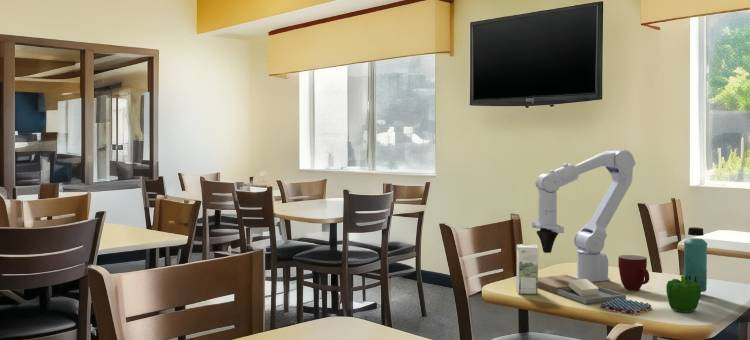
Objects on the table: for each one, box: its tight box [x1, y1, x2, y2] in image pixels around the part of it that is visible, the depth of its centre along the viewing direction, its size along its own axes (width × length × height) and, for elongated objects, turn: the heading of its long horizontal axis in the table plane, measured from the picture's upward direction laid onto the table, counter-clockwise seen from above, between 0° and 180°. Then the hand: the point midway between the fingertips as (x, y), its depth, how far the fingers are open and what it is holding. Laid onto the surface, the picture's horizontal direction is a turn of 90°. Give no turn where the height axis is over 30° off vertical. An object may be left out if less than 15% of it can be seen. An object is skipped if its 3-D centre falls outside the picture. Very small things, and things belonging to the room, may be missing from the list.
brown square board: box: [538, 274, 596, 295], centre depth 206 cm, size 14×14×2 cm
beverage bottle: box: [682, 226, 708, 293], centre depth 195 cm, size 6×7×20 cm
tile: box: [569, 279, 599, 296], centre depth 197 cm, size 6×6×2 cm
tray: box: [556, 284, 627, 305], centre depth 193 cm, size 14×13×2 cm
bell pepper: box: [665, 274, 702, 313], centre depth 178 cm, size 8×8×10 cm
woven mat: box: [599, 298, 653, 316], centre depth 180 cm, size 10×11×2 cm
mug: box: [617, 254, 650, 292], centre depth 201 cm, size 10×8×10 cm
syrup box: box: [515, 243, 539, 296], centre depth 199 cm, size 6×6×14 cm
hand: (547, 252), depth 214 cm, fingers closed
